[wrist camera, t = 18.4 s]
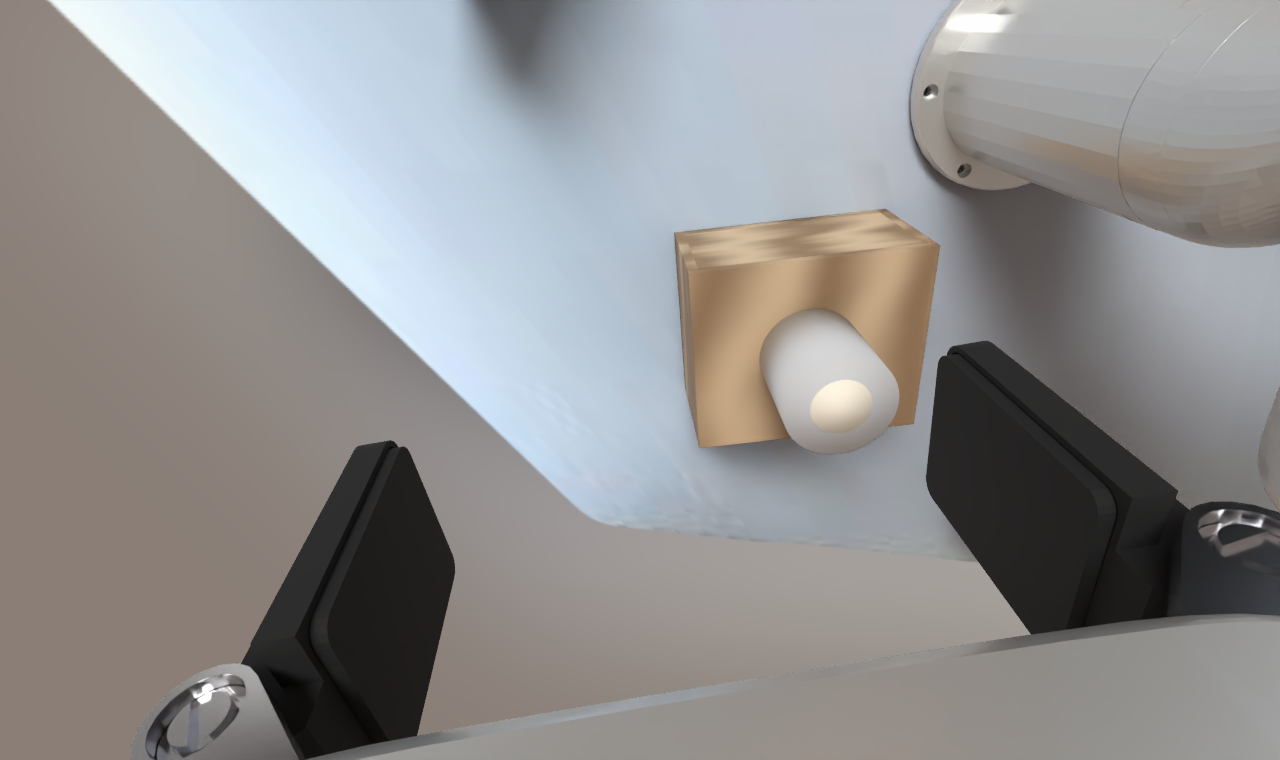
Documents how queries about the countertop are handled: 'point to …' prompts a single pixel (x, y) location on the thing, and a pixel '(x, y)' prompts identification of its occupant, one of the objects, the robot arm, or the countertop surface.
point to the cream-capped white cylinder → (827, 382)
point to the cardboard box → (779, 253)
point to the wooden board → (771, 290)
